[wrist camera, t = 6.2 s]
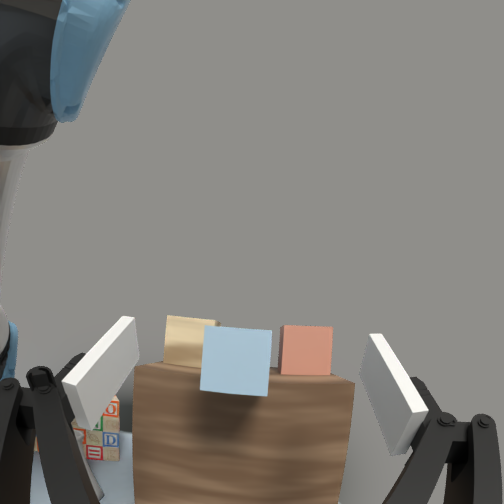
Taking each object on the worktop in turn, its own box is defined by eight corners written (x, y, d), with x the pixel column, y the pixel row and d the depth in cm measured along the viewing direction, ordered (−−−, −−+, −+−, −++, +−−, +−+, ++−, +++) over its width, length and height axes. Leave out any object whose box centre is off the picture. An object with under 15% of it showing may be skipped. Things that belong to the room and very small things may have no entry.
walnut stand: (319, 570, 16) (355, 383, 22) (140, 554, 16) (134, 366, 23) (302, 512, 29) (320, 368, 35) (171, 501, 30) (176, 358, 36)
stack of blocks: (5, 445, 29) (1, 379, 32) (10, 433, 34) (7, 372, 37) (120, 461, 40) (120, 400, 43) (114, 448, 45) (114, 391, 48)
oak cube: (211, 369, 29) (215, 320, 30) (163, 362, 29) (167, 315, 30) (217, 365, 33) (220, 322, 35) (175, 360, 34) (179, 318, 35)
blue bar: (267, 396, 16) (272, 330, 18) (199, 389, 17) (204, 325, 18) (266, 365, 38) (268, 335, 39) (235, 363, 38) (238, 333, 39)
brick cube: (330, 375, 28) (332, 326, 30) (280, 374, 28) (284, 325, 30) (320, 370, 33) (322, 328, 34) (277, 369, 33) (280, 327, 35)
